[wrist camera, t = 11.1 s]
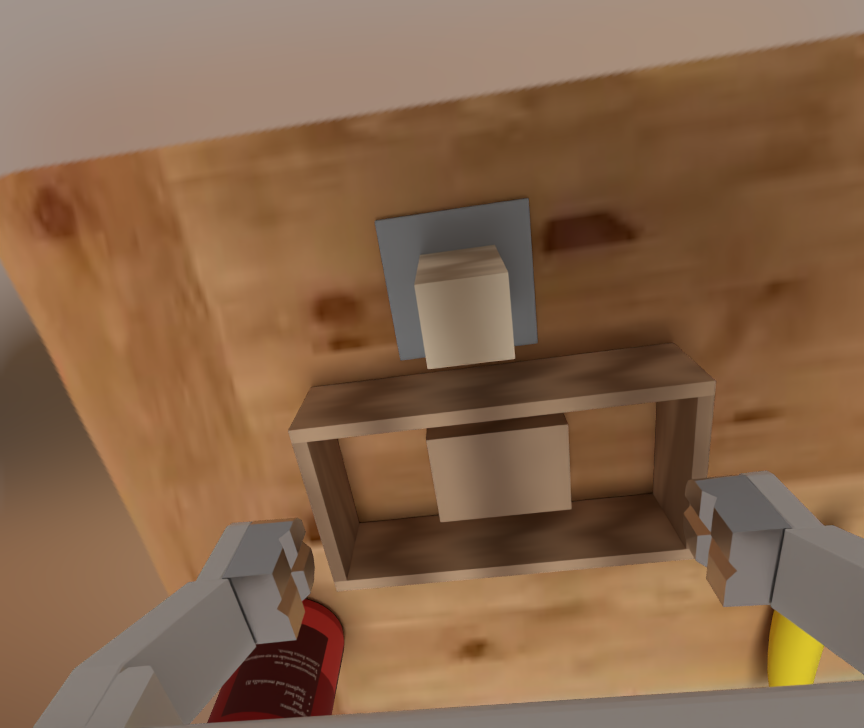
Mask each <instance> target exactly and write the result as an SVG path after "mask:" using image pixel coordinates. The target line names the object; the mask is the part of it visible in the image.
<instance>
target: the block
mask: <svg viewBox="0 0 864 728" xmlns="http://www.w3.org/2000/svg"><path fill="white" fill-rule="evenodd" d="M414 287H415V293H416V299H417V305H418V312H419V318H420V324H421V331H422V337H423V343H424V349H425V356H426V362H427V368H428V369H435V368H443V367H451V366H459V365H468V364H476V363H484V362H493V361H501V360H509V359H515V351H514V338H513V326H512V313H511V301H510V289H509V276H508V271H507V269H506V267H505V265H504V263H503V261H502V259H501V257H500V255H499V253H498V251H497V248H496V246H495V245H489V246H482V247H475V248H467V249H460V250H453V251H446V252H438V253H431V254H424V255H420V257H419V263H418V268H417V273H416V278H415V283H414Z"/></svg>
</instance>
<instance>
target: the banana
mask: <svg viewBox="0 0 864 728" xmlns="http://www.w3.org/2000/svg"><path fill="white" fill-rule="evenodd" d="M823 648H824V645H822V644H821V643H820V642H818V641H817V640H816V639H814V638H813V637H812V636H810V635H809V634H807V633H806V632H805V631H803V630H802V629H801V628H799V627H798V626H796V625H795V624H794V623H792V622H791V621H790V620H788V619H787V618H786V617H784V616H783V615H781V614H780V613H779V612H777V611H776V610H774V613H773V617H772V623H771V629H770V634H769V645H768V667H767V673H768V682H769V687H776V686H791V685H807V684H813V682H814V678H815V675H816V671H817V668H818V664H819V661H820V657H821V654H822V651H823Z"/></svg>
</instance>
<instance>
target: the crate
mask: <svg viewBox="0 0 864 728" xmlns="http://www.w3.org/2000/svg"><path fill="white" fill-rule="evenodd" d="M715 388H716V380H715V379H714V378H713V377H711V376H710V375H709V374H708V373H707V372H706V371H705V370H704V369H702V368H701V367H700V366H699V365H698V364H697V363H696V362H695V361H693V360H692V359H691V358H690V357H689V356H688V355H687V354H685V353H684V352H683V351H682V350H681V349H680V348H679V347H678V346H676V345H675V344H674V343H667V344H658V345H650V346H642V347H634V348H626V349H618V350H610V351H602V352H594V353H586V354H577V355H569V356H561V357H553V358H545V359H537V360H529V361H521V362H513V363H505V364H496V365H488V366H480V367H472V368H464V369H456V370H448V371H440V372H432V373H423V374H415V375H407V376H399V377H391V378H383V379H375V380H367V381H359V382H351V383H342V384H334V385H326V386H318V387H311V388H310V390H309V392H308V394H307V396H306V398H305V399H304V401H303V403H302V405H301V407H300V409H299V411H298V413H297V415H296V417H295V418H294V420H293V422H292V424H291V426H290V428H289V430H288V433H289V436H290V439H291V442H292V446H293V449H294V452H295V455H296V459H297V462H298V465H299V469H300V472H301V475H302V478H303V482H304V485H305V488H306V492H307V495H308V498H309V501H310V505H311V508H312V511H313V515H314V518H315V521H316V524H317V528H318V531H319V534H320V538H321V541H322V544H323V547H324V551H325V554H326V557H327V560H328V564H329V567H330V570H331V574H332V577H333V580H334V583H335V587H336V590H337V591H348V590H359V589H370V588H381V587H392V586H403V585H414V584H425V583H435V582H446V581H457V580H468V579H479V578H490V577H501V576H512V575H523V574H534V573H545V572H556V571H567V570H578V569H589V568H600V567H611V566H622V565H633V564H644V563H655V562H666V561H676V560H687V559H694V557H693V555H692V553H691V552H690V550H689V547H688V545H687V542H686V539H685V534H684V529H683V514H684V512H685V511H686V510H687V509H688V508H689V506H690V505H691V504H690V503H689V501H688V500H687V498H686V497H685V489H686V484H687V482H688V480H691V479H700V478H707V472H708V462H709V451H710V441H711V430H712V419H713V409H714V398H715ZM650 402H657V407H656V431H655V455H654V479H653V493H652V494H642V495H632V496H622V497H612V498H602V499H593V500H583V501H573V502H571V484H570V459H569V434H568V423H567V421H566V418H565V416H564V414H563V412H572V411H581V410H589V409H598V408H607V407H616V406H624V405H633V404H642V403H650ZM424 428H427V434H426V442H427V448H428V454H429V459H430V465H431V471H432V476H433V482H434V488H435V493H436V499H437V505H438V511H439V515H435V516H425V517H415V518H405V519H396V520H386V521H376V522H366V523H359V520H358V516H357V512H356V508H355V505H354V501H353V497H352V493H351V489H350V485H349V482H348V478H347V474H346V470H345V466H344V462H343V458H342V455H341V451H340V447H339V443H338V439H337V438H346V437H355V436H363V435H372V434H381V433H389V432H398V431H407V430H416V429H424Z"/></svg>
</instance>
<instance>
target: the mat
mask: <svg viewBox="0 0 864 728" xmlns="http://www.w3.org/2000/svg"><path fill="white" fill-rule="evenodd" d="M375 226H376V232H377V237H378V243H379V248H380V253H381V259H382V264H383V269H384V275H385V280H386V285H387V291H388V296H389V302H390V307H391V312H392V318H393V323H394V328H395V334H396V339H397V345H398V350H399V355H400V360H408V359H416V358H424V357H426V356H425V349H424V343H423V337H422V331H421V324H420V318H419V312H418V305H417V299H416V293H415V287H414V283H415V278H416V273H417V268H418V263H419V257H420V255H424V254H431V253H438V252H446V251H453V250H460V249H467V248H475V247H482V246H489V245H495V246H496V248H497V251H498V253H499V255H500V257H501V259H502V261H503V263H504V265H505V267H506V269H507V271H508V276H509V289H510V301H511V313H512V326H513V338H514V346H520V345H528V344H535V343H538V339H537V323H536V308H535V292H534V276H533V261H532V245H531V229H530V214H529V199H528V198H523V199H516V200H510V201H503V202H496V203H489V204H482V205H476V206H469V207H462V208H455V209H449V210H442V211H435V212H428V213H422V214H415V215H408V216H401V217H395V218H388V219H381V220H375Z"/></svg>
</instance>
